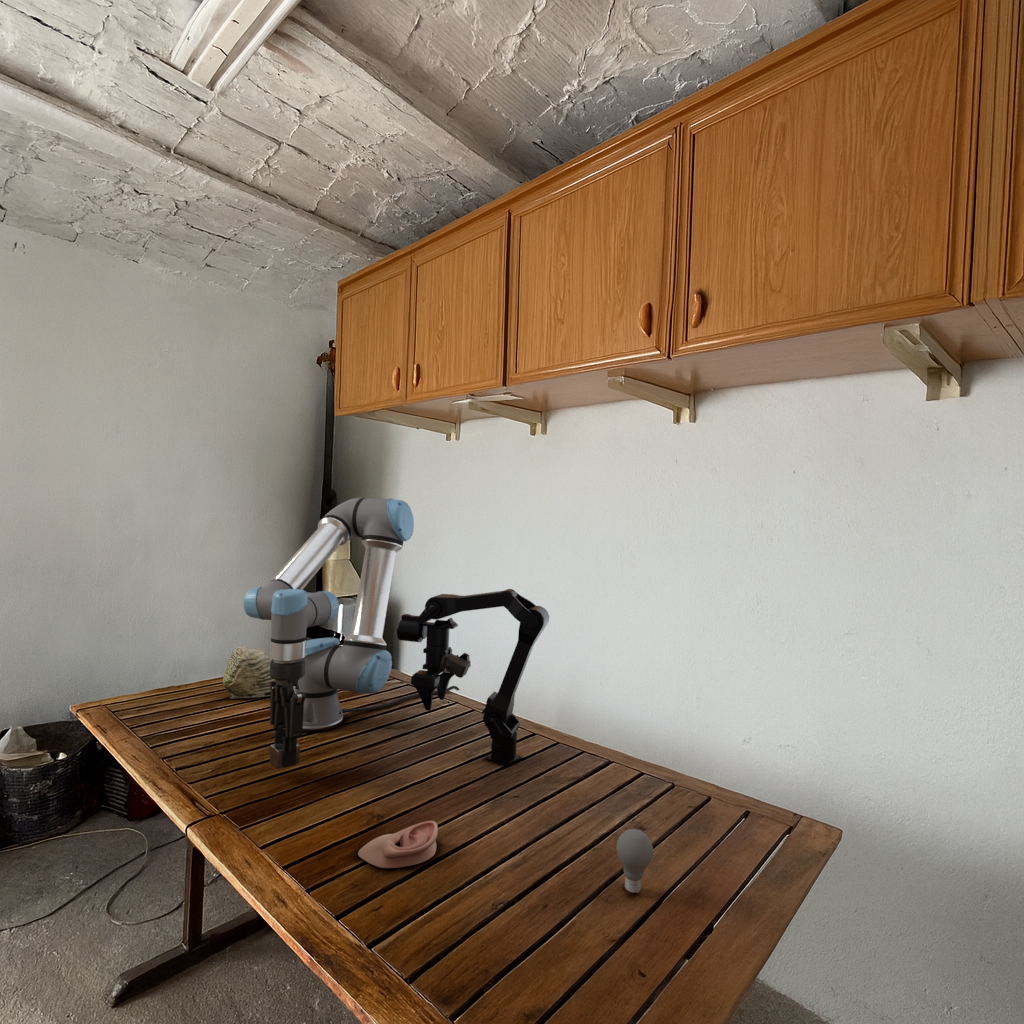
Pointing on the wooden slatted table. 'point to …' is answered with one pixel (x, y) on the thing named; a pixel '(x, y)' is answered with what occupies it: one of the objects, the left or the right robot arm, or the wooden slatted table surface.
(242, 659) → the fossil
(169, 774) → the wooden slatted table surface
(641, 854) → the light bulb
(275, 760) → the block
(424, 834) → the anatomical model
